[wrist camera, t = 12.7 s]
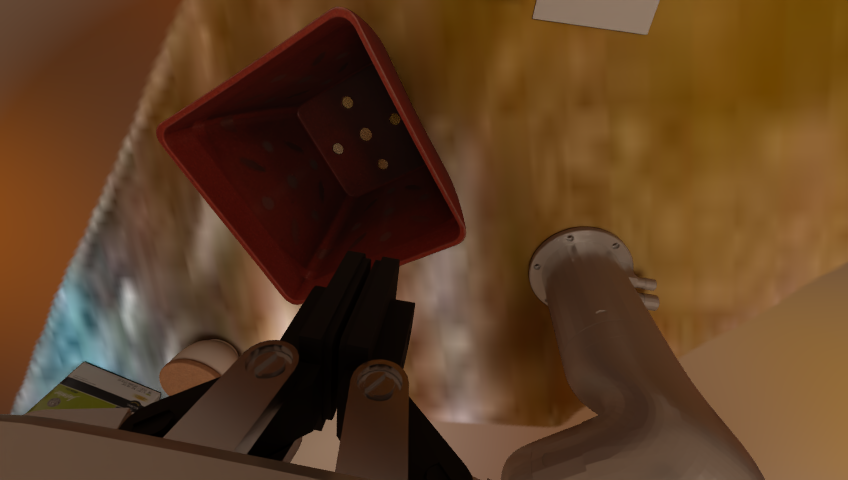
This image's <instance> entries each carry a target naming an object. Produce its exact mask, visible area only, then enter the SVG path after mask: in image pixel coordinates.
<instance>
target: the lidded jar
mask: <svg viewBox="0 0 848 480" xmlns="http://www.w3.org/2000/svg"><path fill="white" fill-rule="evenodd" d="M237 359H238V353H237V351H236V349H235V348H234V347H233V346H232V345H230V344H229V343H227V342H225V341H223V340H220V339H210V340H203V341H198V342H195V343H193V344H191V345H189V346H187V347H186V348H184V349H183V350H181V351H180V352H179V353H178V354H177V355H176V356H175V357H174V358H173V359H172V360H171V361H170V362H169V363H167V364H166V365H165V366H164V367H163V369H162V370H161V372H160V383H161V386H162V388H163V389H164V391H165V392H166V393H167V394H168V395H169V396H171V395H174V394H177V393H179V392H182V391H184V390H187V389H189V388H192V387H195V386H197V385H200V384H202V383H205V382H208V381H210V380H213V379H215V378H218V377H220V376H222V375H223V374H224V373H225V372H226V371H227V370H228V369H229V368H230V367H231V365H232V364H233V363H234V362H235V361H236V360H237Z"/></svg>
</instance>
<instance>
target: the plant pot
mask: <svg viewBox="0 0 848 480" xmlns="http://www.w3.org/2000/svg"><path fill="white" fill-rule="evenodd" d="M345 96H348V97H350V98H351V99H352V100H353V107H352V108H350V109H346V108H344V107H343V105H342V99H343V97H345ZM392 113H396V114H398V115H399V116H400V119H401V121H400V123H399V124H398V125H392V124H391V123H390V121H389V118H390V115H391V114H392ZM362 128H368V129H369V130H370V131H371V133H372V138H371V140H369V141H363V140H362V139H361V138H360V137H359V131H360V130H361V129H362ZM156 135H157V138H158V141H159V142H160V144H161V145H162V146H163V148H164V149H165V150H166V152H167V153H168V154H169V156H170V157H171V158H172V159H173V161H174V162H175V163H176V164H177V166H178V167H179V168H180V169H181V171H182V172H183V173H184V174H185V176H186V177H187V178H188V179H189V181H190V182H191V183H192V184H193V186H194V187H195V188H196V189H197V190H198V192H199V193H200V194H201V195H202V197H203V198H204V199H205V200H206V202H207V203H208V204H209V206H210V207H211V208H212V209H213V211H214V212H215V213H216V214H217V215H218V217H219V218H220V219H221V220H222V222H223V223H224V224H225V225H226V227H227V228H228V229H229V230H230V232H231V233H232V234H233V235H234V237H235V238H236V239H237V240H238V241H239V243H240V244H241V245H242V246H243V248H244V249H245V250H246V251H247V253H248V254H249V255H250V256H251V258H252V259H253V260H254V261H255V262H256V264H257V265H258V266H259V267H260V269H261V270H262V271H263V272H264V274H265V275H266V276H267V278H268V279H269V280H270V281H271V283H272V284H273V285H274V286H275V288H276V289H277V290H278V291H279V293H280V294H281V295H282V296H283V297H284V298H285V299H286V300H287V301H288V302H290V303H292V304H295V305H299V304H303V303H304V301H305V300H306V298H307V296H308V295H309V293H310V292H311V290H312V289H313V287H314V286H316V285H317V286H322V287H327V286H328V284H329V282H330V280H331V279H332V277H333V275H334V273H335V272H336V270H337V268H338V267H339V265H340V263H341V261H342V260H343V258H344V256H345V254H346V253H347V251H355V252H361V253H365V254H366V258H369V259H371V268H372V266H373V264H374V262H375V260H381V259H382V257H383V256H384V257H390V258H395V259H399V260H400V264H399V266H401V265H404V264H406V263H409V262H412V261H415V260H417V259H420V258H423V257H425V256H428V255H430V254H433V253H436V252H439V251H441V250H444V249H447V248H449V247H452V246H455V245H457V244H459V243H461V242H462V241H463V240H464V238H465V236H466V227H465V222H464V218H463V213H462V210H461V206H460V203H459V199H458V196H457V193H456V191H455V188H454V186H453V183H452V181H451V179H450V177H449V174H448V172H447V171H446V169H445V167H444V165H443V163H442V161H441V159H440V158H439V156H438V154H437V152H436V150H435V148H434V147H433V145H432V143H431V141H430V139H429V137H428V135H427V133H426V131H425V130H424V128H423V126H422V124H421V122H420V120H419V118H418V116H417V114H416V112H415V110H414V108H413V106H412V104H411V102H410V100H409V98H408V96H407V94H406V92H405V90H404V88H403V86H402V83H401V81H400V79H399V77H398V75H397V73H396V71H395V68H394V66H393V64H392V62H391V60H390V58H389V56H388V54H387V52H386V50H385V47H384V46H383V44H382V42H381V40H380V39H379V37H378V36H377V35H376V33H375V32H374V31H373V30H372V28H371V27H370V26H369V25H368V24H367V23H366V22H365V21H364V20H362V19H361V18H360V17H359V16H358V15H356V14H355V13H353V12H352V11H350V10H348V9H346V8H343V7H334V8H332V9H330V10H329V11H327V12H326V13H324V14H323V15H321V16H320V17H319V18H317V19H316V20H314V21H313V22H311V23H310V24H308V25H307V26H306V27H304V28H303V29H301V30H300V31H298V32H297V33H295V34H294V35H293V36H291V37H290V38H288V39H287V40H285V41H284V42H282V43H281V44H280V45H278V46H277V47H275V48H274V49H272V50H271V51H269V52H268V53H266V54H265V55H263V56H262V57H261V58H259V59H258V60H256V61H255V62H253V63H252V64H250V65H249V66H247V67H246V68H244V69H243V70H241V71H240V72H238V73H237V74H235V75H234V76H232V77H231V78H229V79H228V80H226V81H225V82H223V83H222V84H220V85H219V86H217V87H216V88H214V89H213V90H211V91H210V92H208V93H207V94H205V95H203V96H202V97H200V98H199V99H197V100H196V101H194V102H193V103H191V104H190V105H188V106H187V107H185V108H183V109H182V110H180V111H179V112H177V113H176V114H174V115H173V116H171V117H169V118H168V119H166V120H165V121H163V122H162V123H160V124H159V125H158V127H157V130H156ZM336 143H339V144H341V145H342V146H343V153H342V154H335V153H334V152H333V149H332V147H333V145H334V144H336ZM380 159H384V160H386V161H387V162H388V168H387V169H385V170H381V169H379V168H378V161H379V160H380Z"/></svg>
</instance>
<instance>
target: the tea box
mask: <svg viewBox="0 0 848 480" xmlns="http://www.w3.org/2000/svg"><path fill="white" fill-rule="evenodd" d="M160 394H161V393H159V392H156V391H154V390H151V389H149V388H146V387H144V386H141V385H139V384H137V383H134V382H132V381H129V380H127V379H124V378H122V377H119V376H117V375H114V374H112V373H109V372H107V371H105V370H102V369H100V368H97V367H95V366H92V365H90V364H88V363H85V362H83V363H82V364H81V365H80V366H78V367H77V368H76V369H75V370H74V371H73V372H72V373H70V374H69V375H68V376H67V377H66V378H65V379H64V380H63V381H62V382H60V383H59V384H58V385H57V386H56V387H55V388H54V389H53V390H51V391H50V392H49V393H48V394H47V395H46V396H45V397H44V398H42V399H41V400H40V401H39V402H38V403H37V404H36V405H35V406H34V407H32V408H31V409H30V410H29V411H28V412H27V413H29V412H32V411H38V410H45V409H92V408H130V411H131V412H136V411H137V410H139V409H141V408H143V407H145V406H147V405H149V404H151V403H153V402H156V401H159V399H160ZM27 413H26V414H27Z"/></svg>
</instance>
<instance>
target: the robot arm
mask: <svg viewBox="0 0 848 480" xmlns="http://www.w3.org/2000/svg"><path fill="white" fill-rule="evenodd" d="M569 235H570V236H569ZM399 264H400V260H399V259H395V258H390V257H384V256H383V257H382V259H381V260H375V262H374V264H373V266H372V268H371V259H369V258H366V254H365V253H361V252H355V251H347V253H346V254H345V256H344V258H343V260H342V261H341V263H340V265H339V267H338V268H337V270H336V272H335V273H334V275H333V277H332V279H331V280H330V282H329V284H328V286H327V287H322V286H317V285H316V286H314V287H313V289H312V290H311V292H310V293H309V295H308V296H307V298H306V300H305V301H304V303H303V304H302V306H301V308H300V309H299V311H298V312H297V314H296V316H295V317H294V319H293V320H292V322H291V324H290V325H289V327H288V328H287V330H286V331H285V333H284V335H283V336H282V338H281V339H280V340H268V341H264V342H260V343H258V344H256V345H254V346H252V347H250V348H249V349H248V350H246V351H245V352H244V353H243V354H242V355H241V356H240V357H239V358H238V359H237V360H236V361H235V362H234V363H233V364H232V365H231V367H230V368H229V369H228V370H227V371H226V372H225V373H224V374H223V375H222V376H220V377H218V378H215V379H213V380H210V381H208V382H205V383H202V384H200V385H197V386H195V387H192V388H189V389H187V390H184V391H182V392H179V393H177V394H174V395H171V396H169V397H166V398H164V399H161V400H159V401H156V402H153V403H151V404H149V405H147V406H145V407H143V408H141V409H139V410H137V411H136V412H131V411H130V408H92V409H45V410H38V411H32V412H29V413H27V414H24V415H8V414H7V415H6V414H0V480H480V479H477V478H475V477H473V476H472V475H471V473H470V472H469V470H468V468H467V467H466V465H465V464H464V463H463V462H462V460H461V459H460V458H459V457H458V456H457V454H456V453H455V452H454V451H453V450H452V448H451V447H450V446H449V445H448V443H447V442H446V441H445V440H444V439H443V438H442V436H441V435H440V434H439V433H438V431H437V430H436V429H435V428H434V426H433V425H432V424H431V423H430V421H429V420H428V419H427V418H426V417H425V415H424V414H423V413H422V412H421V411H420V409H419V408H418V407H417V406H416V404H415V403H414V402H413V401H412V400H411V398H410V397H409V381H408V376H407V374H406V373H405V371H404V370H403V368H404V363H405V359H406V354H407V350H408V345H409V340H410V335H411V329H412V323H413V316H414V309H415V303H412V302H406V301H401V300H396V291H397V282H398V273H399ZM536 264H537V265H536ZM529 280H530V284H531V287H532V289H533V291H534V293H535V294H536V296H537V297H538V298H539V299H540V300H541V301H542V302H543V303H544V304H546V305H548V307H549V311H550V315H551V319H552V323H553V327H554V331H555V335H556V339H557V344H558V348H559V352H560V356H561V360H562V364H563V367H564V371H565V375H566V378H567V381H568V383H569V385H570V387H571V389H572V391H573V392H574V393H575V395H576V396H577V397H578V398H579V400H580V401H581V402H582V403H584V404H585V405H586V406H587V407H588V408H589V409H591V410H592V411H593V412H595V413H596V414H598V416H596V417H593V418H591V419H589V420H587V421H584V422H582V423H581V424H579V425H576V426H573V427H571V428H568V429H565V430H563V431H560V432H557V433H555V434H552V435H550V436H547V437H544V438H542V439H539V440H537V441H535V442H532V443H529V444H527V445H525V446H523V447H521V448H519V449H517V450H516V451H515V452H513V453H512V454H511V455H510V456H509V457H508V459H507V460H506V462H505V464H504V467H503V470H502V475H501V480H765V479H764V477H763V475H762V473H761V472H760V470H759V468H758V466H757V465H756V463H755V461H754V460H753V459H752V457H751V456H750V454H749V453H748V452H747V450H746V449H745V448H744V446H743V445H742V443H741V442H740V441H739V440H738V439H737V437H736V436H735V435H734V434H733V433H732V431H731V430H730V429H729V428H728V427H727V426H726V424H725V423H724V422H723V421H722V419H721V418H720V417H719V416H718V415H717V414H716V412H715V411H714V410H713V409H712V407H711V406H710V405H709V404H708V403H707V401H706V400H705V399H704V397H703V396H702V395H701V393H700V392H699V391H698V389H697V388H696V387H695V385H694V384H693V383H692V381H691V380H690V378H689V377H688V375H687V374H686V372H685V371H684V369H683V368H682V366H681V365H680V363H679V361H678V360H677V358H676V357H675V355H674V353H673V352H672V350H671V348H670V347H669V345H668V343H667V341H666V340H665V338H664V337H663V335H662V333H661V332H660V330H659V328H658V327H657V325H656V323H655V322H654V320H653V318H652V316H651V315H650V313H649V311H648V310H653V311H655V310H657V308H658V306H659V298H658V296H656V295H651V294H645V293H637V291H636V289H635V287H637V288H642V289H646V290H651V291H653V290H655V289H656V286H657V283H656V280H654V279H648V278H639V277H637V275H635V274H634V272H633V260H632V256H631V254H630V252H629V250H628V248H627V247H626V246H625V244H624V243H623V242H622V241H621V240H620V239H619V238H618V237H617V236H615V235H613V234H612V233H610V232H608V231H605V230H602V229H599V228H592V227H578V228H572V229H568V230H565V231H562V232H559V233H557V234H555V235H553V236H551V237H550V238H549V239H547V240H546V241H545V242H543V243H542V244H541V245H540V247H539V248H538V249H537V250H536V252H535V253H534V255H533V256H532V259H531V262H530V265H529ZM336 409H337V437H338V438H339V440H340V446H339V452H338V457H337V464H336V470H335V472H332V471H327V470H321V469H317V468H311V467H306V466H302V465H297V464H292V463H290V462H291V461H292V459H293V457H294V455H295V454H296V452H297V450H298V449H299V447H300V444H301V442H302V436H304V435H306V434H308V433H310V432H312V431H313V430H318V431H322V428H323V425H324V423H325V421H326V419H328V420H332V419H333V417H334V415H335V412H336ZM487 480H490V479H487Z"/></svg>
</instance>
